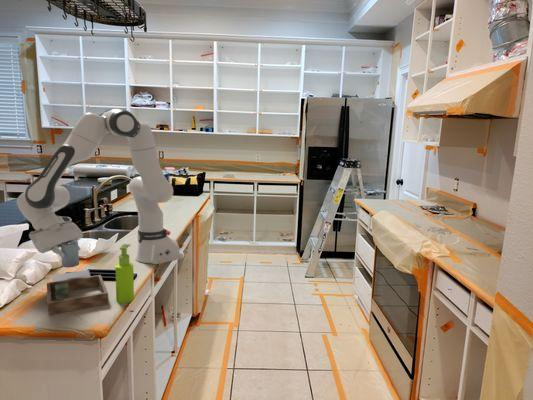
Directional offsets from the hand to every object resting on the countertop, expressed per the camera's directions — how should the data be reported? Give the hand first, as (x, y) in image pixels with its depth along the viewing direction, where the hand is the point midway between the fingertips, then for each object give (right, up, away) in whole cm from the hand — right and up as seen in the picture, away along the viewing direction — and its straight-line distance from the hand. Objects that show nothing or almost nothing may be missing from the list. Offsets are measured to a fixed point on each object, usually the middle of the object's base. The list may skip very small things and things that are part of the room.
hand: (71, 253), depth 141 cm
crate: (+9, -14, -13) cm, 21 cm away
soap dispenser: (+26, -15, -12) cm, 32 cm away
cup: (-1, -5, +1) cm, 5 cm away
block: (+3, -14, -12) cm, 19 cm away
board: (-1, -11, +2) cm, 11 cm away
